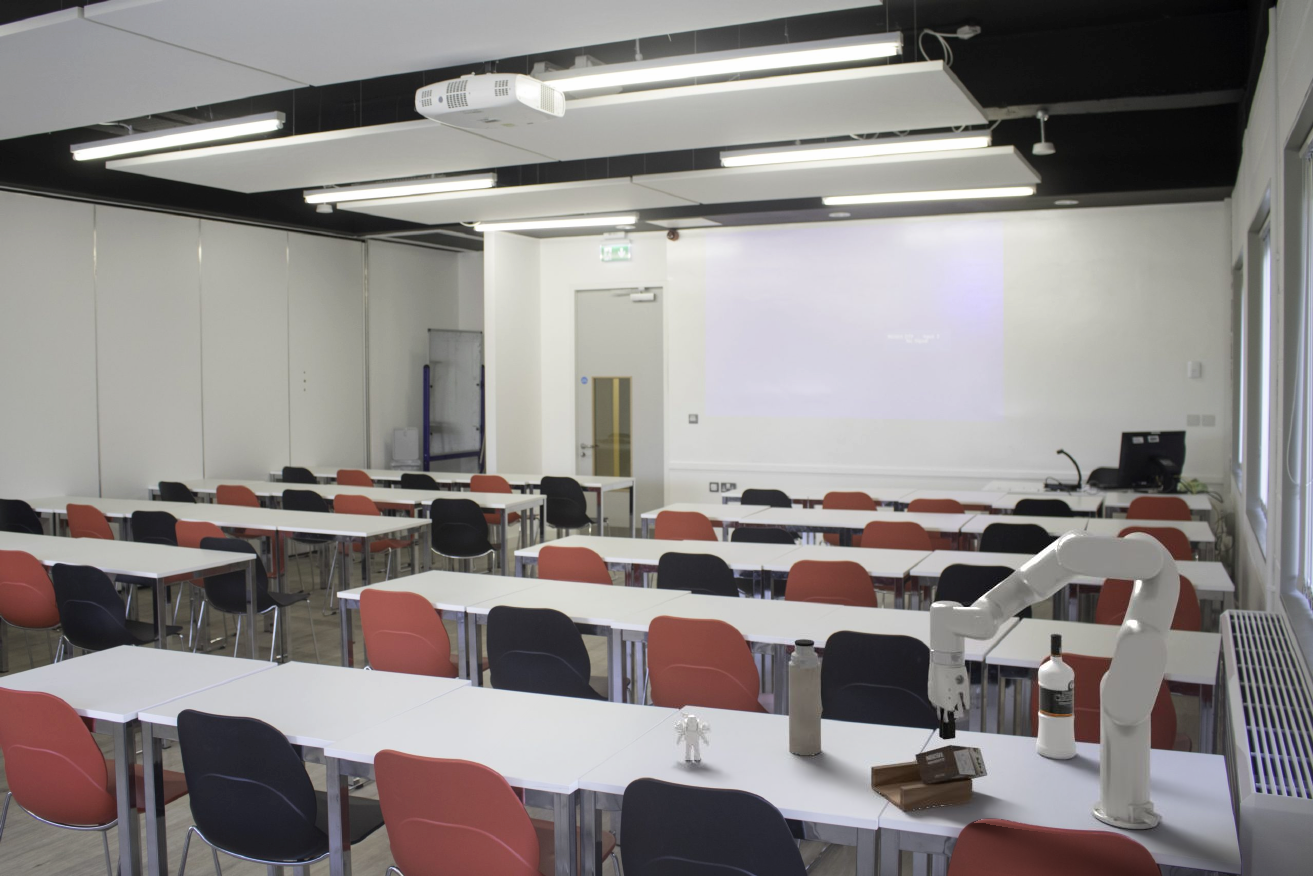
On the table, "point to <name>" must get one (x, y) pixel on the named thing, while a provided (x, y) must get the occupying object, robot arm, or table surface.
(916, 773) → the u rest
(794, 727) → the thermos bottle
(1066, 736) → the vodka
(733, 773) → the table surface
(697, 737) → the blocky character figurine
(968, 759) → the coffee box
